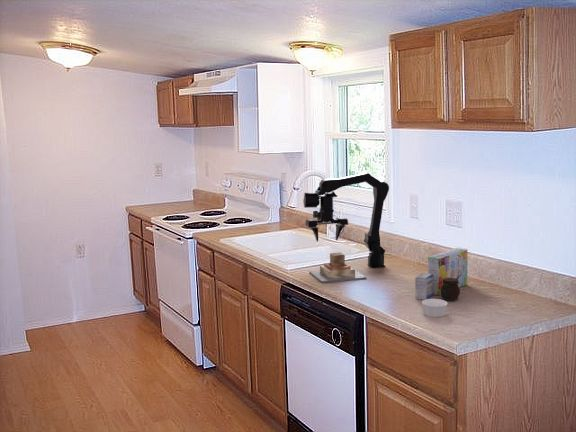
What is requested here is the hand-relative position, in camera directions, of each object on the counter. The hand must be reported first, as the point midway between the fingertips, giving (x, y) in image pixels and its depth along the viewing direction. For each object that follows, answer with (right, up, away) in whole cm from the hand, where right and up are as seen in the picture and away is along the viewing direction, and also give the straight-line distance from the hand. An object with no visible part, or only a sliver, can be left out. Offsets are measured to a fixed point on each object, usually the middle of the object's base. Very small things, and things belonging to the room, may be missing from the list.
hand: (326, 240), depth 296 cm
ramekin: (+34, -24, -66) cm, 78 cm away
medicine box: (+35, -20, -45) cm, 60 cm away
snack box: (+46, -18, -35) cm, 61 cm away
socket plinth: (+4, -14, -11) cm, 19 cm away
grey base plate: (+4, -15, -11) cm, 19 cm away
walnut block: (+4, -11, -12) cm, 17 cm away
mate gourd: (+44, -21, -49) cm, 69 cm away
